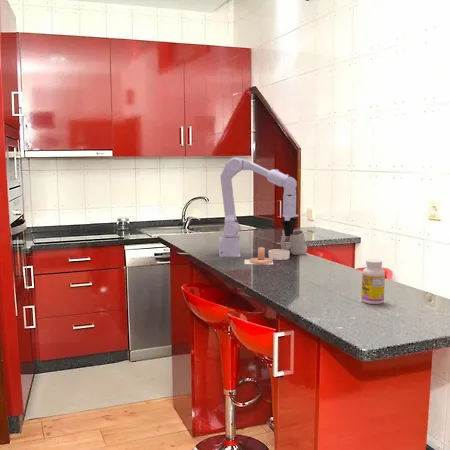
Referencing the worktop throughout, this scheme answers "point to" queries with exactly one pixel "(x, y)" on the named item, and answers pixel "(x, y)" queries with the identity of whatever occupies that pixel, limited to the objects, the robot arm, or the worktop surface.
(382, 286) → the supplement bottle
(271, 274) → the worktop surface
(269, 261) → the lid
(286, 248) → the mug
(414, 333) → the worktop surface
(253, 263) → the mat
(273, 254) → the bowl
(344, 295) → the worktop surface
